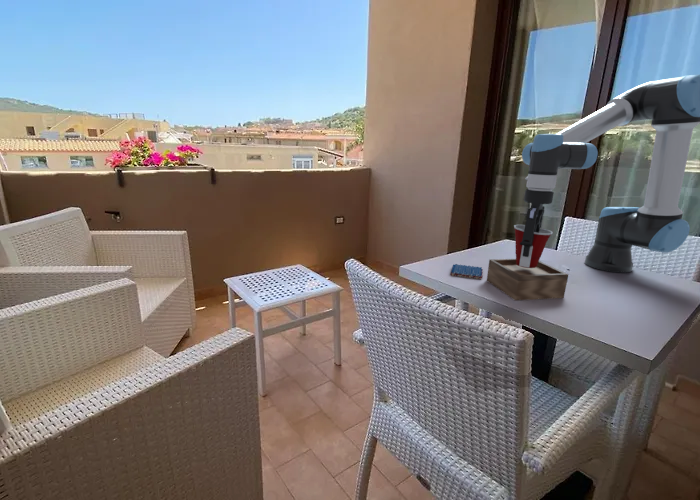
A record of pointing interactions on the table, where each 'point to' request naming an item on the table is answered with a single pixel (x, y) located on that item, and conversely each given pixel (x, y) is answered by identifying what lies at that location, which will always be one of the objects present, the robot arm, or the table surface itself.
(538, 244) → the plastic cup
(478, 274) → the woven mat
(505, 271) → the open wooden box
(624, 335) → the table surface
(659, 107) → the robot arm
